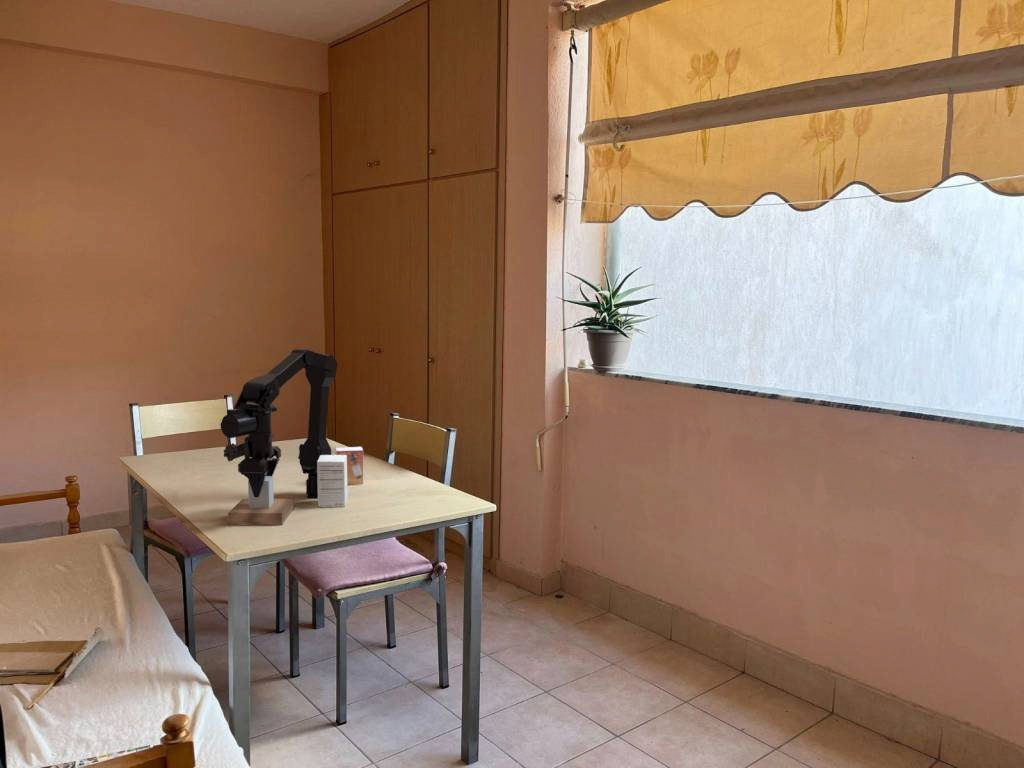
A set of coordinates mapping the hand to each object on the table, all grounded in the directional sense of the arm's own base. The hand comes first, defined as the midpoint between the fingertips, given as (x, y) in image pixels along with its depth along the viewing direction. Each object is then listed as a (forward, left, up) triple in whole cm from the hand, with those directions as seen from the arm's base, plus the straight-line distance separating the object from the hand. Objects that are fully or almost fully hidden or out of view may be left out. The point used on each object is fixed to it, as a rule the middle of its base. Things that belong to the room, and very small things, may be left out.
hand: (261, 492), depth 199 cm
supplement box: (-16, -13, -7) cm, 21 cm away
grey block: (0, 0, -4) cm, 4 cm away
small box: (-17, -35, -7) cm, 39 cm away
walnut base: (0, 0, -6) cm, 6 cm away
